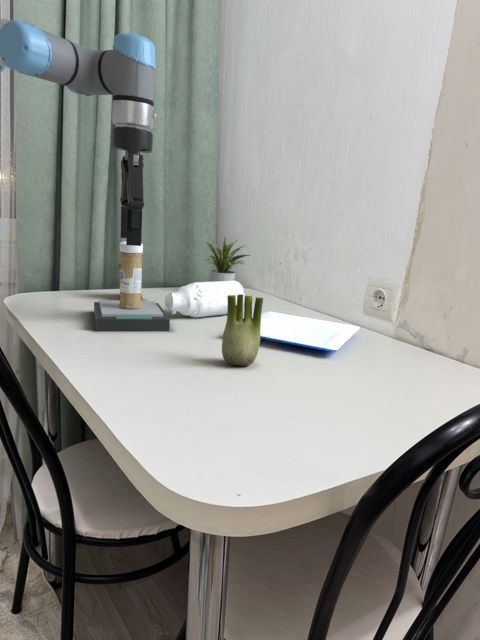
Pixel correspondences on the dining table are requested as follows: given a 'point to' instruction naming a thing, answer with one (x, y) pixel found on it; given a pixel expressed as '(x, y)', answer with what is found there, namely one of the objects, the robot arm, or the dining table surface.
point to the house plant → (224, 262)
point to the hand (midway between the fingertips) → (130, 241)
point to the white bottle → (203, 298)
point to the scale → (130, 317)
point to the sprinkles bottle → (130, 276)
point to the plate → (305, 331)
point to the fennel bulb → (242, 330)
